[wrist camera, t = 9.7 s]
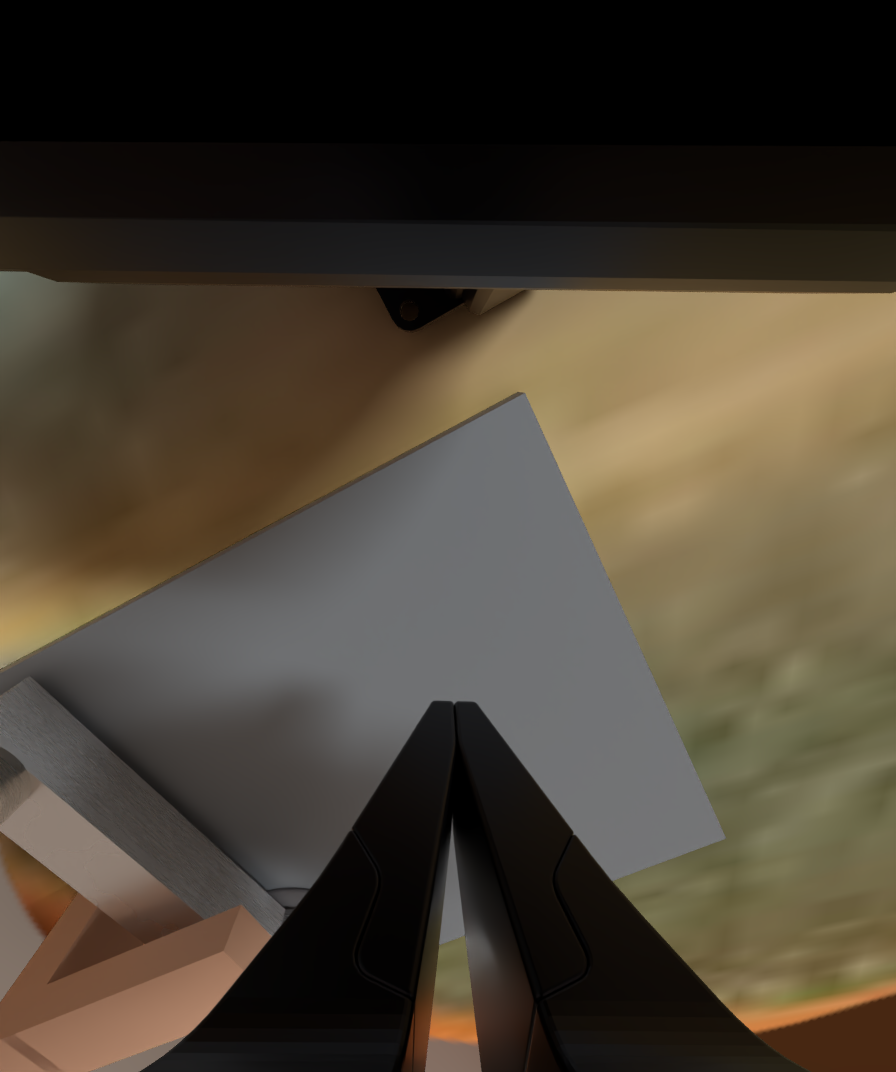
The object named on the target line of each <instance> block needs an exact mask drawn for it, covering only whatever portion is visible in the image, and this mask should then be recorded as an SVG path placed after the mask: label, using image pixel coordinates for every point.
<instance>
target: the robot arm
mask: <svg viewBox="0 0 896 1072" xmlns="http://www.w3.org/2000/svg"><path fill="white" fill-rule="evenodd" d="M0 271H18V272H29V273H33V274H36V275H39V276H42V277H45V278H48V279H51V280H54V281H57V282H80V283H111V284H152V285H226V286H299V287H372V288H376V289H377V291H378V293H379V294H380V296H381V298H382V300H383V302H384V304H385V306H386V308H387V310H388V312H389V314H390V316H391V318H392V320H393V321H394V322H395V324H396V325H397V326H398V328H400V329H401V330H403V331H405V332H415V331H418V330H420V329H422V328H424V327H426V326H427V325H429V324H431V323H433V322H434V321H436V320H438V319H440V318H441V317H443V316H445V315H447V314H448V313H450V312H452V311H453V310H455V309H457V308H459V307H460V306H462V305H464V304H466V307H467V309H468V311H469V312H472V313H475V314H478V315H480V314H482V313H484V312H486V311H488V310H489V309H491V308H493V307H495V306H496V305H498V304H500V303H502V302H503V301H505V300H507V299H509V298H510V297H512V296H514V295H516V294H518V293H519V292H521V291H523V290H592V291H665V292H738V293H893V292H896V0H0ZM408 302H412V303H415V304H416V305H417V306H418V309H419V313H418V316H417V317H416V318H415V319H414V320H412V321H407V320H404V319H403V318H402V316H401V308H402V306H403V305H404V304H405V303H408ZM452 824H453V838H454V847H455V856H456V864H457V872H458V880H459V889H460V897H461V905H462V913H463V922H464V930H465V938H466V946H467V955H468V963H469V971H470V979H471V988H472V996H473V1004H474V1012H475V1021H476V1029H477V1037H478V1045H479V1053H480V1062H481V1070H482V1072H810V1071H808V1070H807V1069H805V1068H803V1067H801V1066H799V1065H798V1064H796V1063H794V1062H793V1061H791V1060H789V1059H787V1058H786V1057H784V1056H783V1055H781V1054H780V1053H779V1052H777V1051H776V1050H774V1049H773V1048H772V1047H770V1046H769V1045H768V1044H766V1043H765V1042H764V1041H763V1040H761V1039H760V1038H759V1037H758V1036H757V1035H755V1034H754V1033H753V1032H752V1031H751V1030H750V1029H749V1028H748V1027H746V1026H745V1025H744V1024H743V1023H742V1022H741V1021H740V1020H739V1019H738V1018H737V1017H736V1016H735V1015H734V1014H733V1013H732V1012H731V1011H730V1010H729V1009H728V1008H727V1007H726V1006H725V1005H724V1004H723V1003H722V1002H721V1001H720V1000H719V999H718V997H717V996H716V995H715V994H714V993H713V992H712V991H711V990H710V989H709V988H708V987H707V985H706V984H705V983H704V982H703V981H702V980H701V979H700V978H699V977H698V976H697V975H696V974H695V972H694V971H693V970H692V969H691V968H690V967H689V966H688V965H687V964H686V963H685V962H684V960H683V959H682V958H681V957H680V956H679V955H678V954H677V953H676V952H675V951H674V950H673V948H672V947H671V946H670V945H669V944H668V943H667V942H666V941H665V940H664V939H663V938H662V936H661V935H660V934H659V933H658V932H657V931H656V930H655V929H654V928H653V927H652V926H651V924H650V923H649V922H648V921H647V920H646V919H645V918H644V917H643V916H642V915H641V913H640V912H639V911H638V910H637V909H636V908H635V907H634V905H633V904H632V903H631V902H630V901H629V900H628V899H627V897H626V896H625V895H624V894H623V893H622V892H621V891H620V890H619V888H618V887H617V886H616V885H615V884H614V883H613V881H612V880H611V879H610V878H609V876H608V875H607V874H606V873H605V871H604V870H603V869H602V868H601V866H600V865H599V864H598V863H597V861H596V860H595V859H594V858H593V856H592V855H591V854H590V852H589V851H588V850H587V848H586V847H585V846H584V844H583V843H582V842H581V840H580V839H579V838H578V836H577V835H573V834H574V832H573V830H572V829H571V827H570V826H569V825H568V823H567V822H566V821H565V819H564V818H563V817H562V815H561V814H560V813H559V812H558V810H557V809H556V808H555V806H554V805H553V804H552V802H551V801H550V800H549V798H548V797H547V796H546V794H545V793H544V792H543V790H542V789H541V788H540V786H539V785H538V784H537V782H536V781H535V780H534V778H533V777H532V776H531V774H530V773H529V772H528V770H527V769H526V768H525V766H524V765H523V764H522V762H521V761H520V760H519V758H518V757H517V756H516V754H515V753H514V752H513V750H512V749H511V748H510V746H509V745H508V744H507V742H506V741H505V740H504V739H503V737H502V736H501V735H500V733H499V732H498V731H497V729H496V728H495V727H494V725H493V724H492V723H491V721H490V720H489V719H488V717H487V716H486V715H485V713H484V712H483V711H482V709H481V708H480V707H479V705H478V704H477V703H476V702H473V701H456V702H455V704H454V703H453V702H452V701H439V700H435V701H432V702H431V704H430V705H429V707H428V708H427V710H426V711H425V713H424V715H423V716H422V718H421V719H420V721H419V722H418V724H417V725H416V727H415V729H414V730H413V732H412V733H411V735H410V736H409V738H408V740H407V741H406V743H405V744H404V746H403V747H402V749H401V751H400V752H399V754H398V755H397V757H396V758H395V760H394V762H393V763H392V765H391V766H390V768H389V769H388V771H387V773H386V774H385V776H384V777H383V779H382V780H381V782H380V784H379V785H378V787H377V788H376V790H375V791H374V793H373V795H372V796H371V798H370V799H369V801H368V802H367V804H366V806H365V807H364V809H363V810H362V812H361V813H360V815H359V817H358V818H357V820H356V821H355V823H354V824H353V826H352V828H351V831H349V832H348V833H347V835H346V837H345V838H344V840H343V841H342V843H341V844H340V846H339V848H338V849H337V851H336V852H335V854H334V855H333V857H332V858H331V859H330V861H329V862H328V864H327V865H326V867H325V868H324V870H323V871H322V873H321V874H320V876H319V877H318V878H317V880H316V881H315V882H314V884H313V885H312V886H311V888H310V889H309V890H308V892H307V893H306V894H305V895H304V897H303V898H302V899H301V901H300V902H299V903H298V904H297V906H296V907H295V908H294V910H293V911H292V912H291V913H290V915H289V916H288V917H287V918H286V920H285V921H284V922H283V923H282V924H281V926H280V927H279V928H278V929H277V931H276V932H275V933H274V934H273V936H272V937H271V938H270V939H269V940H268V942H267V943H266V944H265V945H264V947H263V948H262V949H261V950H260V952H259V953H258V954H257V955H256V956H255V958H254V959H253V960H252V961H251V963H250V964H249V965H248V966H247V968H246V969H245V970H244V971H243V972H242V974H241V975H240V976H239V977H238V979H237V980H236V981H235V982H234V984H233V985H232V986H231V987H230V988H229V990H228V991H227V992H226V993H225V995H224V996H223V997H222V998H221V999H220V1001H219V1002H218V1003H217V1004H216V1005H215V1007H214V1008H213V1009H212V1010H211V1011H210V1013H209V1014H208V1015H207V1016H206V1017H205V1018H204V1019H203V1020H202V1021H201V1022H200V1023H199V1024H198V1025H197V1026H196V1027H195V1029H193V1030H192V1031H191V1032H190V1033H189V1034H188V1035H187V1036H186V1037H185V1038H184V1039H183V1040H182V1041H181V1042H180V1043H178V1044H177V1045H176V1046H175V1047H174V1048H172V1049H171V1050H170V1051H169V1052H168V1053H166V1054H165V1055H164V1056H162V1057H161V1058H159V1059H158V1060H157V1061H155V1062H154V1063H152V1064H151V1065H149V1066H148V1067H146V1068H145V1069H143V1070H142V1071H140V1072H425V1067H426V1058H427V1048H428V1040H429V1031H430V1022H431V1013H432V1004H433V995H434V986H435V977H436V968H437V959H438V950H439V941H440V932H441V923H442V914H443V905H444V896H445V887H446V878H447V869H448V860H449V851H450V842H451V830H452Z"/></svg>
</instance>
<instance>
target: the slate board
mask: <svg viewBox="0 0 896 1072" xmlns="http://www.w3.org/2000/svg"><path fill="white" fill-rule="evenodd" d="M29 676H30V677H31V678H32V679H34V680H35V681H36V682H37V683H38V684H39V685H40V686H41V687H42V688H43V689H45V690H46V691H47V692H48V693H49V694H50V695H51V696H52V697H53V698H54V699H55V700H57V701H58V702H59V703H60V704H61V705H62V706H63V707H64V708H65V709H66V710H68V711H69V712H70V713H71V714H72V715H73V716H74V717H75V718H76V719H77V720H78V721H80V722H81V723H82V724H83V725H84V726H85V727H86V728H87V729H88V730H89V731H91V732H92V733H93V734H94V735H95V736H96V737H97V738H98V739H99V740H100V741H102V742H103V743H104V744H105V745H106V746H107V747H108V748H109V749H110V750H111V751H112V752H114V753H115V754H116V755H117V756H118V757H119V758H120V759H121V760H122V761H123V762H125V763H126V764H127V765H128V766H129V767H130V768H131V769H132V770H133V771H134V772H135V773H137V774H138V775H139V776H140V777H141V778H142V779H143V780H144V781H145V782H146V783H148V784H149V785H150V786H151V787H152V788H153V789H154V790H155V791H156V792H157V793H159V794H160V795H161V796H162V797H163V798H164V799H165V800H166V801H167V802H168V803H169V804H171V805H172V806H173V807H174V808H175V809H176V810H177V811H178V812H179V813H180V814H182V815H183V816H184V817H185V818H186V819H187V820H188V821H189V822H190V823H191V824H192V825H194V826H195V827H196V828H197V829H198V830H199V831H200V832H201V833H202V834H203V835H205V836H206V837H207V838H208V839H209V840H210V841H211V842H212V843H213V844H214V845H216V846H217V847H218V848H219V849H220V850H221V851H222V852H223V853H224V854H225V855H226V856H228V857H229V858H230V859H231V860H232V861H233V862H234V863H235V864H236V865H237V866H239V867H240V868H241V869H242V870H243V871H244V872H245V873H246V874H247V875H248V876H250V877H251V878H252V879H253V880H254V881H255V882H256V883H257V884H258V885H259V886H260V887H262V888H263V889H264V890H265V891H266V892H267V893H268V894H269V895H270V896H271V897H273V898H274V899H275V900H276V901H277V902H278V903H279V904H280V905H281V906H282V907H283V908H285V909H294V908H295V907H296V906H297V904H298V903H299V902H300V901H301V899H302V898H303V897H304V895H305V894H306V893H307V892H308V890H309V889H310V888H311V886H312V885H313V884H314V882H315V881H316V880H317V878H318V877H319V876H320V874H321V873H322V871H323V870H324V868H325V867H326V865H327V864H328V862H329V861H330V859H331V858H332V857H333V855H334V854H335V852H336V851H337V849H338V848H339V846H340V844H341V843H342V841H343V840H344V838H345V837H346V835H347V833H348V832H349V831H351V828H352V826H353V824H354V823H355V821H356V820H357V818H358V817H359V815H360V813H361V812H362V810H363V809H364V807H365V806H366V804H367V802H368V801H369V799H370V798H371V796H372V795H373V793H374V791H375V790H376V788H377V787H378V785H379V784H380V782H381V780H382V779H383V777H384V776H385V774H386V773H387V771H388V769H389V768H390V766H391V765H392V763H393V762H394V760H395V758H396V757H397V755H398V754H399V752H400V751H401V749H402V747H403V746H404V744H405V743H406V741H407V740H408V738H409V736H410V735H411V733H412V732H413V730H414V729H415V727H416V725H417V724H418V722H419V721H420V719H421V718H422V716H423V715H424V713H425V711H426V710H427V708H428V707H429V705H430V704H431V702H432V701H435V700H439V701H452V702H453V703H454V704H455V702H456V701H473V702H476V703H477V704H478V705H479V707H480V708H481V709H482V711H483V712H484V713H485V715H486V716H487V717H488V719H489V720H490V721H491V723H492V724H493V725H494V727H495V728H496V729H497V731H498V732H499V733H500V735H501V736H502V737H503V739H504V740H505V741H506V742H507V744H508V745H509V746H510V748H511V749H512V750H513V752H514V753H515V754H516V756H517V757H518V758H519V760H520V761H521V762H522V764H523V765H524V766H525V768H526V769H527V770H528V772H529V773H530V774H531V776H532V777H533V778H534V780H535V781H536V782H537V784H538V785H539V786H540V788H541V789H542V790H543V792H544V793H545V794H546V796H547V797H548V798H549V800H550V801H551V802H552V804H553V805H554V806H555V808H556V809H557V810H558V812H559V813H560V814H561V815H562V817H563V818H564V819H565V821H566V822H567V823H568V825H569V826H570V827H571V829H572V830H573V832H574V834H573V835H577V836H578V838H579V839H580V840H581V842H582V843H583V844H584V846H585V847H586V848H587V850H588V851H589V852H590V854H591V855H592V856H593V858H594V859H595V860H596V861H597V863H598V864H599V865H600V866H601V868H602V869H603V870H604V871H605V873H606V874H607V875H608V876H609V878H610V879H611V880H612V881H613V880H616V879H618V878H621V877H624V876H626V875H629V874H632V873H634V872H637V871H640V870H643V869H645V868H648V867H651V866H653V865H656V864H659V863H661V862H664V861H667V860H669V859H672V858H675V857H678V856H680V855H683V854H686V853H688V852H691V851H694V850H696V849H699V848H702V847H704V846H707V845H710V844H712V843H715V842H718V841H721V840H723V839H726V837H725V835H724V833H723V831H722V828H721V826H720V824H719V822H718V820H717V817H716V815H715V813H714V811H713V808H712V806H711V804H710V802H709V800H708V797H707V795H706V793H705V791H704V789H703V786H702V784H701V782H700V780H699V777H698V775H697V773H696V771H695V769H694V766H693V764H692V762H691V760H690V758H689V755H688V753H687V751H686V749H685V746H684V744H683V742H682V740H681V738H680V735H679V733H678V731H677V729H676V727H675V724H674V722H673V720H672V718H671V715H670V713H669V711H668V709H667V707H666V704H665V702H664V700H663V698H662V696H661V693H660V691H659V689H658V687H657V684H656V682H655V680H654V678H653V676H652V673H651V671H650V669H649V667H648V665H647V662H646V660H645V658H644V656H643V653H642V651H641V649H640V647H639V645H638V642H637V640H636V638H635V636H634V634H633V631H632V629H631V627H630V625H629V622H628V620H627V618H626V616H625V614H624V611H623V609H622V607H621V605H620V603H619V600H618V598H617V596H616V594H615V591H614V589H613V587H612V585H611V583H610V580H609V578H608V576H607V574H606V571H605V569H604V567H603V565H602V563H601V560H600V558H599V556H598V554H597V552H596V549H595V547H594V545H593V543H592V540H591V538H590V536H589V534H588V532H587V529H586V527H585V525H584V523H583V521H582V518H581V516H580V514H579V512H578V509H577V507H576V505H575V503H574V501H573V498H572V496H571V494H570V492H569V490H568V487H567V485H566V483H565V481H564V478H563V476H562V474H561V472H560V470H559V467H558V465H557V463H556V461H555V459H554V456H553V454H552V452H551V450H550V447H549V445H548V443H547V441H546V439H545V436H544V434H543V432H542V430H541V428H540V425H539V423H538V421H537V419H536V416H535V414H534V412H533V410H532V408H531V405H530V403H529V401H528V399H527V397H526V394H525V393H522V392H517V393H515V394H513V395H511V396H509V397H508V398H506V399H504V400H502V401H500V402H498V403H496V404H495V405H493V406H491V407H489V408H487V409H485V410H483V411H482V412H480V413H478V414H476V415H474V416H472V417H470V418H468V419H467V420H465V421H463V422H461V423H459V424H457V425H455V426H454V427H452V428H450V429H448V430H446V431H444V432H442V433H440V434H439V435H437V436H435V437H433V438H431V439H429V440H427V441H426V442H424V443H422V444H420V445H418V446H416V447H414V448H412V449H411V450H409V451H407V452H405V453H403V454H401V455H399V456H398V457H396V458H394V459H392V460H390V461H388V462H386V463H384V464H383V465H381V466H379V467H377V468H375V469H373V470H371V471H370V472H368V473H366V474H364V475H362V476H360V477H358V478H357V479H355V480H353V481H351V482H349V483H347V484H345V485H343V486H342V487H340V488H338V489H336V490H334V491H332V492H330V493H329V494H327V495H325V496H323V497H321V498H319V499H317V500H315V501H314V502H312V503H310V504H308V505H306V506H304V507H302V508H301V509H299V510H297V511H295V512H293V513H291V514H289V515H287V516H286V517H284V518H282V519H280V520H278V521H276V522H274V523H273V524H271V525H269V526H267V527H265V528H263V529H261V530H260V531H258V532H256V533H254V534H252V535H250V536H248V537H246V538H245V539H243V540H241V541H239V542H237V543H235V544H233V545H232V546H230V547H228V548H226V549H224V550H222V551H220V552H218V553H217V554H215V555H213V556H211V557H209V558H207V559H205V560H204V561H202V562H200V563H198V564H196V565H194V566H192V567H190V568H189V569H187V570H185V571H183V572H181V573H179V574H177V575H176V576H174V577H172V578H170V579H168V580H166V581H164V582H163V583H161V584H159V585H157V586H155V587H153V588H151V589H149V590H148V591H146V592H144V593H142V594H140V595H138V596H136V597H135V598H133V599H131V600H129V601H127V602H125V603H123V604H121V605H120V606H118V607H116V608H114V609H112V610H110V611H108V612H107V613H105V614H103V615H101V616H99V617H97V618H95V619H93V620H92V621H90V622H88V623H86V624H84V625H82V626H80V627H79V628H77V629H75V630H73V631H71V632H69V633H67V634H65V635H64V636H62V637H60V638H58V639H56V640H54V641H52V642H51V643H49V644H47V645H45V646H43V647H41V648H39V649H38V650H36V651H34V652H32V653H30V654H28V655H26V656H24V657H23V658H21V659H19V660H17V661H15V662H13V663H11V664H10V665H8V666H6V667H4V668H2V669H0V696H1V695H2V694H4V693H5V692H7V691H8V690H10V689H11V688H13V687H14V686H16V685H17V684H19V683H20V682H22V681H23V680H24V679H26V678H27V677H29ZM462 936H465V930H464V922H463V913H462V905H461V897H460V889H459V880H458V872H457V864H456V856H455V847H454V838H453V824H452V830H451V842H450V851H449V860H448V869H447V878H446V887H445V896H444V905H443V914H442V923H441V932H440V941H439V945H441V944H443V943H446V942H449V941H452V940H454V939H457V938H460V937H462Z"/></svg>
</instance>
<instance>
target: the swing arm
mask: <svg viewBox="0 0 896 1072" xmlns="http://www.w3.org/2000/svg"><path fill="white" fill-rule="evenodd" d="M0 831H1V832H2V833H3V834H5V835H6V836H7V837H8V838H10V839H11V840H12V841H14V842H15V843H16V844H17V845H19V846H20V847H21V848H22V849H24V850H25V851H26V852H28V853H29V854H30V855H31V856H33V857H34V858H35V859H37V860H38V861H39V862H40V863H42V864H43V865H44V866H45V867H47V868H48V869H49V870H51V871H52V872H53V873H54V874H56V875H57V876H58V877H60V878H61V879H62V880H63V881H65V882H66V883H67V884H69V885H70V886H71V887H72V888H74V889H75V890H76V891H77V892H79V893H80V894H81V895H83V896H84V897H85V898H86V899H88V900H89V901H90V902H92V903H93V904H94V905H95V906H97V907H98V908H99V909H100V910H102V911H103V912H104V913H106V914H107V915H108V916H109V917H111V918H112V919H113V920H115V921H116V922H117V923H118V924H120V925H121V926H122V927H123V928H125V929H126V930H127V931H129V932H130V933H131V934H132V935H134V936H135V937H136V938H138V939H139V940H140V941H141V942H143V943H144V944H147V943H149V942H151V941H154V940H156V939H159V938H161V937H164V936H166V935H168V934H171V933H173V932H176V931H178V930H181V929H183V928H185V927H188V926H190V925H193V924H195V923H198V922H200V921H202V920H205V919H207V918H210V917H212V916H215V915H217V914H220V913H222V912H224V911H227V910H229V909H232V908H234V907H237V906H239V905H242V906H243V907H244V908H245V909H246V910H247V911H248V912H249V913H250V914H251V915H252V916H253V917H254V918H255V919H256V920H257V921H258V923H259V924H260V925H261V926H262V927H263V928H264V929H265V930H266V931H267V932H268V933H269V934H270V935H271V936H273V934H274V933H275V932H276V931H277V929H278V928H279V927H280V926H281V924H282V923H283V922H284V921H285V920H286V918H287V917H288V916H289V915H290V913H291V912H292V911H293V910H294V909H285V908H283V907H282V906H281V905H280V904H279V903H278V902H277V901H276V900H275V899H274V898H273V897H271V896H270V895H269V894H268V893H267V892H266V891H265V890H264V889H263V888H262V887H260V886H259V885H258V884H257V883H256V882H255V881H254V880H253V879H252V878H251V877H250V876H248V875H247V874H246V873H245V872H244V871H243V870H242V869H241V868H240V867H239V866H237V865H236V864H235V863H234V862H233V861H232V860H231V859H230V858H229V857H228V856H226V855H225V854H224V853H223V852H222V851H221V850H220V849H219V848H218V847H217V846H216V845H214V844H213V843H212V842H211V841H210V840H209V839H208V838H207V837H206V836H205V835H203V834H202V833H201V832H200V831H199V830H198V829H197V828H196V827H195V826H194V825H192V824H191V823H190V822H189V821H188V820H187V819H186V818H185V817H184V816H183V815H182V814H180V813H179V812H178V811H177V810H176V809H175V808H174V807H173V806H172V805H171V804H169V803H168V802H167V801H166V800H165V799H164V798H163V797H162V796H161V795H160V794H159V793H157V792H156V791H155V790H154V789H153V788H152V787H151V786H150V785H149V784H148V783H146V782H145V781H144V780H143V779H142V778H141V777H140V776H139V775H138V774H137V773H135V772H134V771H133V770H132V769H131V768H130V767H129V766H128V765H127V764H126V763H125V762H123V761H122V760H121V759H120V758H119V757H118V756H117V755H116V754H115V753H114V752H112V751H111V750H110V749H109V748H108V747H107V746H106V745H105V744H104V743H103V742H102V741H100V740H99V739H98V738H97V737H96V736H95V735H94V734H93V733H92V732H91V731H89V730H88V729H87V728H86V727H85V726H84V725H83V724H82V723H81V722H80V721H78V720H77V719H76V718H75V717H74V716H73V715H72V714H71V713H70V712H69V711H68V710H66V709H65V708H64V707H63V706H62V705H61V704H60V703H59V702H58V701H57V700H55V699H54V698H53V697H52V696H51V695H50V694H49V693H48V692H47V691H46V690H45V689H43V688H42V687H41V686H40V685H39V684H38V683H37V682H36V681H35V680H34V679H32V678H31V677H30V676H29V677H27V678H26V679H24V680H23V681H22V682H20V683H19V684H17V685H16V686H14V687H13V688H11V689H10V690H8V691H7V692H5V693H4V694H2V695H1V696H0Z"/></svg>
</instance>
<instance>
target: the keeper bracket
mask: <svg viewBox="0 0 896 1072" xmlns="http://www.w3.org/2000/svg"><path fill="white" fill-rule="evenodd" d="M271 937H272V936H271V935H270V934H269V933H268V932H267V931H266V930H265V929H264V928H263V927H262V926H261V925H260V924H259V923H258V921H257V920H256V919H255V918H254V917H253V916H252V915H251V914H250V913H249V912H248V911H247V910H246V909H245V908H244V907H243V906H242V905H239V906H237V907H234V908H232V909H229V910H227V911H224V912H222V913H220V914H217V915H215V916H212V917H210V918H207V919H205V920H202V921H200V922H198V923H195V924H193V925H190V926H188V927H185V928H183V929H181V930H178V931H176V932H173V933H171V934H168V935H166V936H164V937H161V938H159V939H156V940H154V941H151V942H149V943H147V944H144V943H143V942H141V941H140V940H139V939H138V938H136V937H135V936H134V935H132V934H131V933H130V932H129V931H127V930H126V929H125V928H123V927H122V926H121V925H120V924H118V923H117V922H116V921H115V920H113V919H112V918H111V917H109V916H108V915H107V914H106V913H104V912H103V911H102V910H100V909H99V908H98V907H97V906H95V905H94V904H93V903H92V902H90V901H89V900H88V899H86V898H85V897H84V896H83V895H81V894H80V893H79V892H78V893H77V895H76V896H75V898H74V899H73V900H72V902H71V903H70V905H69V906H68V908H67V909H66V910H65V912H64V913H63V915H62V916H61V917H60V919H59V920H58V922H57V923H56V924H55V926H54V927H53V929H52V930H51V931H50V933H49V934H48V936H47V937H46V939H45V940H44V941H43V943H42V944H41V946H40V947H39V949H38V950H37V951H36V953H35V954H34V955H33V957H32V958H31V960H30V961H29V963H28V964H27V965H26V967H25V968H24V969H23V971H22V972H21V974H20V975H19V977H18V978H17V979H16V981H15V982H14V984H13V985H12V987H11V988H10V989H9V991H8V992H7V994H6V995H5V997H4V998H3V999H2V1001H1V1002H0V1072H90V1071H92V1070H95V1069H97V1068H101V1067H103V1066H106V1065H109V1064H111V1063H114V1062H116V1061H119V1060H122V1059H125V1058H127V1057H130V1056H133V1055H135V1054H138V1053H141V1052H143V1051H146V1050H149V1049H151V1048H154V1047H157V1046H160V1045H162V1044H165V1043H168V1042H170V1041H173V1040H176V1039H178V1038H181V1037H184V1036H186V1035H188V1034H189V1033H190V1032H191V1031H192V1030H193V1029H195V1027H196V1026H197V1025H198V1024H199V1023H200V1022H201V1021H202V1020H203V1019H204V1018H205V1017H206V1016H207V1015H208V1014H209V1013H210V1011H211V1010H212V1009H213V1008H214V1007H215V1005H216V1004H217V1003H218V1002H219V1001H220V999H221V998H222V997H223V996H224V995H225V993H226V992H227V991H228V990H229V988H230V987H231V986H232V985H233V984H234V982H235V981H236V980H237V979H238V977H239V976H240V975H241V974H242V972H243V971H244V970H245V969H246V968H247V966H248V965H249V964H250V963H251V961H252V960H253V959H254V958H255V956H256V955H257V954H258V953H259V952H260V950H261V949H262V948H263V947H264V945H265V944H266V943H267V942H268V940H269V939H270V938H271ZM143 944H144V945H143Z"/></svg>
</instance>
